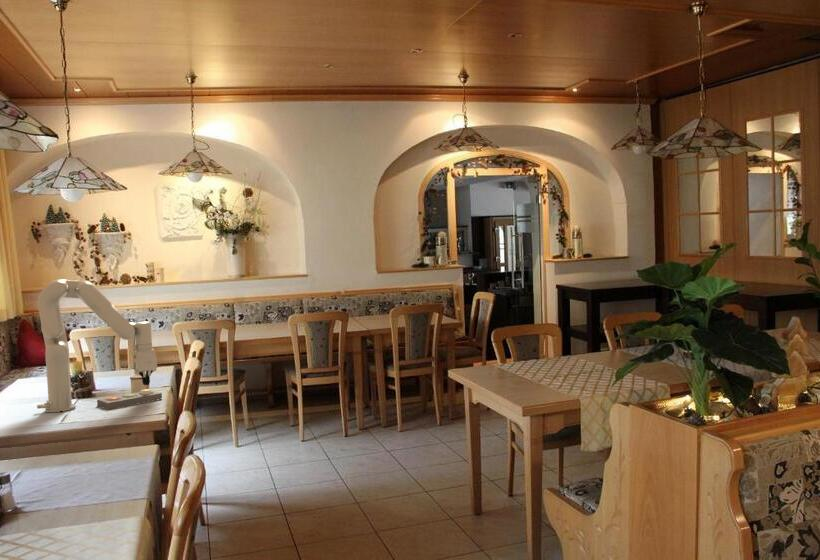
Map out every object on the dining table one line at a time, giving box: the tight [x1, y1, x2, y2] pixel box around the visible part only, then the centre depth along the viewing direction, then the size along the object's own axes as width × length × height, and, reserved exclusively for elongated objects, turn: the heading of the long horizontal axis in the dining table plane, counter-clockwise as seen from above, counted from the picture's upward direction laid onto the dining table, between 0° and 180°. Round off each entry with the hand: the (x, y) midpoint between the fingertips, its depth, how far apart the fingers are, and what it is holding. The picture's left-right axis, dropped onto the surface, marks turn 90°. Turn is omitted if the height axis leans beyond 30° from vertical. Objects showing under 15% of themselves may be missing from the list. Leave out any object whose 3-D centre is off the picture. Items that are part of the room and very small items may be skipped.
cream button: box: [140, 388, 152, 395], centre depth 338 cm, size 5×5×3 cm
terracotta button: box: [107, 396, 119, 401], centre depth 326 cm, size 5×5×3 cm
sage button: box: [123, 393, 136, 398], centre depth 332 cm, size 5×5×3 cm
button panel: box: [96, 389, 163, 411], centre depth 332 cm, size 26×12×3 cm, turn 137°
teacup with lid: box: [129, 371, 150, 394], centre depth 353 cm, size 12×9×12 cm
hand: (146, 384), depth 337 cm, fingers closed
